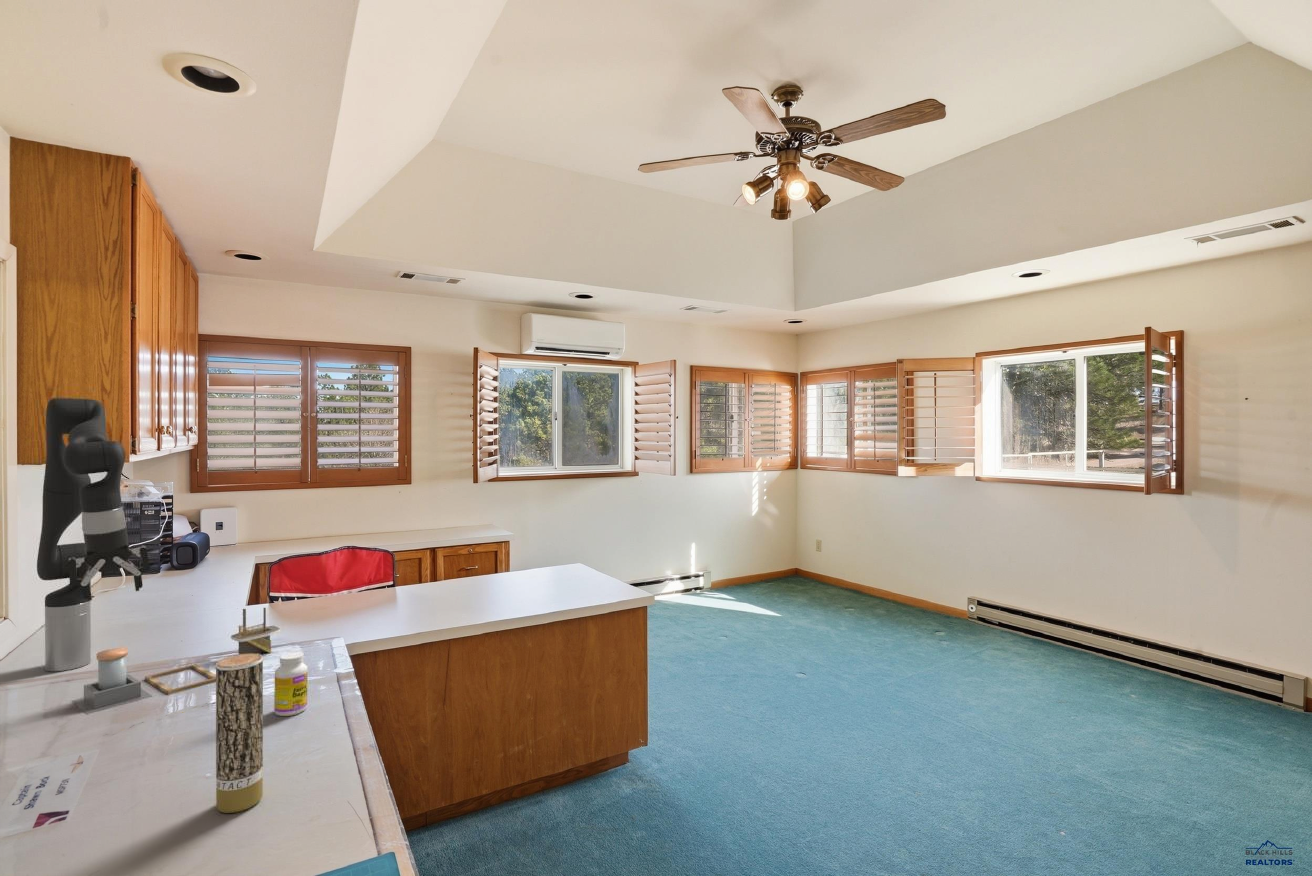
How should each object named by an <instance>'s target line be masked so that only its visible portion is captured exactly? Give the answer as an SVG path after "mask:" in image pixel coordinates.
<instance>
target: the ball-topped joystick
mask: <svg viewBox="0 0 1312 876" xmlns="http://www.w3.org/2000/svg"><path fill="white" fill-rule="evenodd" d="M128 653H129V649H128V648H127V647H115V648H109V649H105V650H101V651H99V652H97V653H96V660H97V661H98V662H97V664H98V667H97V669H98V670H97V672H98V673H97V674H98V675H97V682H98V691H103V690H107V689H110V688H114V687H118V686H122V685H126V675H127V655H128Z"/></svg>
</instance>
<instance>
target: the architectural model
mask: <svg viewBox="0 0 1312 876" xmlns="http://www.w3.org/2000/svg"><path fill="white" fill-rule="evenodd" d="M266 611H267V609H266V607H263V622H262V623H261V624H257V625H256V624H255V625H251V626H248V627H247V617H246V616H247V609H246V608H242V625H238V632H237V633H234V634H232V635H231V636H230V639H231V640H232V641H235V642H238V655H239V654H249V653H255V654H263V653H265V652H267V653H269V654H271V653H273V651H272V640H271V636H273V635H274V634H278V633H280V632H281V628H280V627H278V626H276V625H269V626H267V625H266V622H267V619H266V618H267V617H266ZM260 626H261V627H260ZM255 627H256V628H255Z"/></svg>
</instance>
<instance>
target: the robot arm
mask: <svg viewBox="0 0 1312 876" xmlns="http://www.w3.org/2000/svg"><path fill="white" fill-rule="evenodd" d="M105 411H106V410H105V408H104V405H103V404H102V402H101V401H99V400H96V399H91V398H76V397H75V398H74V397H73V398H71V397H52V398H51V399H50V400H48V402H47V405H46V411H45V444H46V445H45V447H46V449H45V450H46V452H45V453H46V456H45V465H44V466H45V468H44V469H45V470H44V478H43V486H42V511H41V512H42V517H41V518H42V519H41V522H42V523H41V532H40V537H39V543H38V550H37V560H36V572H37V575H38V577H39V579H40V580H42V581H55V580H64V579H69V583H68V584H66V585H65V586H64V587H61V588H59V589H57V590H54V591H52V592H49V593H48V594H46V595H45V597H44V670H45V671H47V672H62V671H68V670H74V669H78V668H81V667H84V666H86V665H89V664H90V663H91V660H92V655H91V654H92V653H91V652H92V651H91V649H92V637H91V636H92V634H91V633H92V628H91V627H92V619H91V618H92V615H91V612H92V611H91V608H92V607H91V601H93V598H92V597H93V596H92V589H91V588H92V585H91V583H92V579H93V578H94V577H95V576H96V574H97V573H106V572H107V573H108V572H110V571H118V570H121V569H122V568H124V569H125V571H126V570H127V571H128V572H130V573H131V574H133V582H134V587H135V589H134V590H135V592H140V589H142V588H143V586H144V585H143V578H142V575H143V574H144V573H146V572H147V573H148V572H150V571H151V565H150V561H149V557H148V551H147V547H146V545H144V544H143V545H142V544H141V545H140V546H138V547H136V548H135V547H134V548H131V547H130V546H129V537H128V530H127V522H126V516H125V512H124V508H123V504H122V496H121V479H122V473H123V469H124V466H125V462H126V450H125V448H124V446H123V445H122V444H121V443H120V442H119V441H116V440H109V437H108V435H107V421H106V419H107V418H106V412H105ZM64 435H67V436H68V437H67V442H68V444H67V445H66V443H65V441H64V439H63V438H64V437H63V436H64ZM100 473H106V475H105V476H104V478H102V479H101V480H98V481H94V482H92V480H91V479H92V478H91V477H90V475H89V474H100ZM79 516H81V525H82V526H81V529H82V533H83V534H82V535H83V541H84V542H75V543H66V544H59V541H60V539H61V537H62V536H63V534H64V532H65V531H66V530H67V529H68V527H69V526H70V525H72V523H73V522H75V521H76V519H77V518H79ZM133 554H134V555H136V557H138V558H140V557H141V563H142V566H140V567H138V566H137V565H135V564H134V563H133V562H132V561H130V560H129V559H130V558H131V557H132V555H133Z"/></svg>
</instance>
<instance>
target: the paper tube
mask: <svg viewBox="0 0 1312 876" xmlns="http://www.w3.org/2000/svg"><path fill="white" fill-rule="evenodd" d="M215 663H216V665H215V666H216V667H215V675H216V682H215V787H216V789H215V790H216V793H215V794H216V797H215V799H216V800H215V801H216V802H215V805H216V809H217V810H218V811H219V812H221V813H224V814H233V813H239V812H243V811H246V810H248V809H251V808H252V807H253V806H255V805H256V804H258V803H259V802H260V801H261V799H262V797H263V796H264V795H263V793H264V786H263V785H264V784H263V783H264V782H263V781H264V778H263V777H264V776H263V775H264V766H263V765H264V763H263V762H264V739H263V738H264V711H263V710H264V697H263V696H264V687H263V686H264V683H263V682H264V673H263V672H264V658H263V655H262V654H261V653H258V654H255V653H249V654H239V653H238V654H235V655H230V656H227V657H225V658H221V659H220V660H218V661H217V662H215Z"/></svg>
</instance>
